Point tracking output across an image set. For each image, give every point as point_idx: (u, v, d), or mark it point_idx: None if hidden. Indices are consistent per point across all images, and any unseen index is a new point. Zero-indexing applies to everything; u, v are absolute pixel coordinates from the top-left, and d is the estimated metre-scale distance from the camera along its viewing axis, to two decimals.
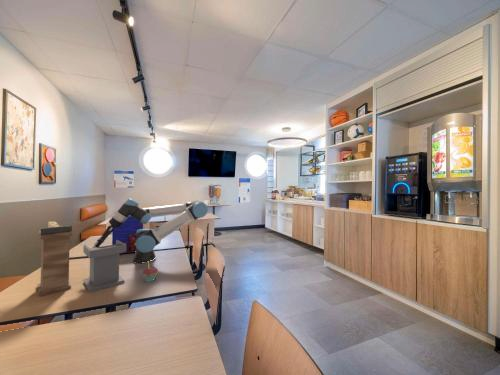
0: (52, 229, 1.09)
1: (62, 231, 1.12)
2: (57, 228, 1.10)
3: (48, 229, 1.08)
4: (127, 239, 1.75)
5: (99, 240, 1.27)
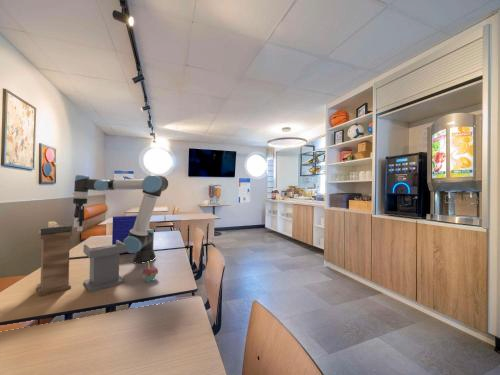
0: (52, 229, 1.09)
1: (62, 231, 1.12)
2: (57, 228, 1.10)
3: (48, 229, 1.08)
4: None
5: (79, 219, 1.37)
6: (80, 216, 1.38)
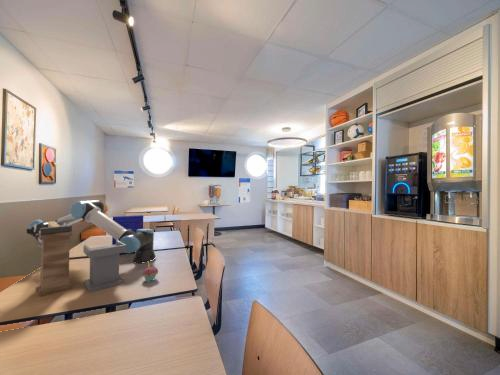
0: (52, 229, 1.09)
1: (62, 231, 1.12)
2: (57, 228, 1.10)
3: (48, 229, 1.08)
4: None
5: None
6: None
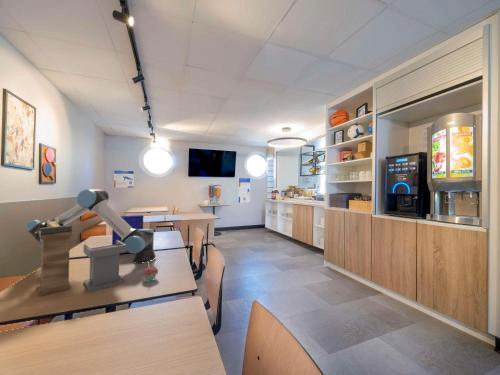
0: (52, 229, 1.09)
1: (62, 231, 1.12)
2: (57, 228, 1.10)
3: (48, 229, 1.08)
4: None
5: (39, 228, 1.21)
6: (38, 229, 1.22)
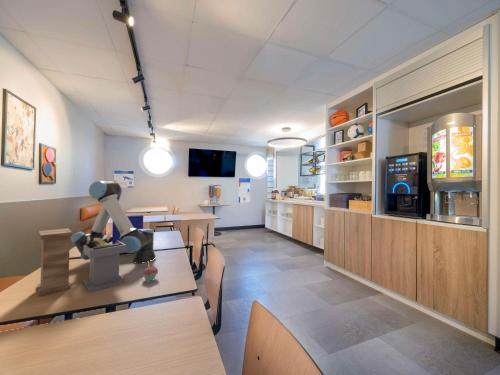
0: None
1: None
2: None
3: (101, 248, 1.15)
4: None
5: (79, 245, 1.26)
6: (80, 245, 1.28)
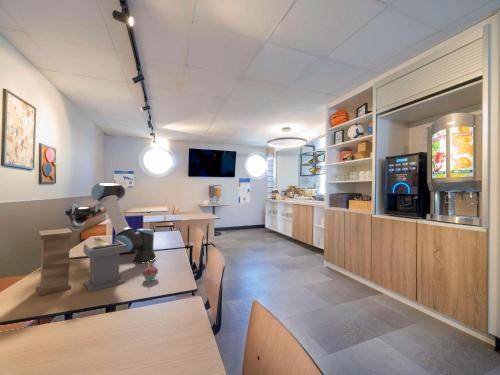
0: None
1: None
2: None
3: (101, 248, 1.15)
4: None
5: None
6: None
